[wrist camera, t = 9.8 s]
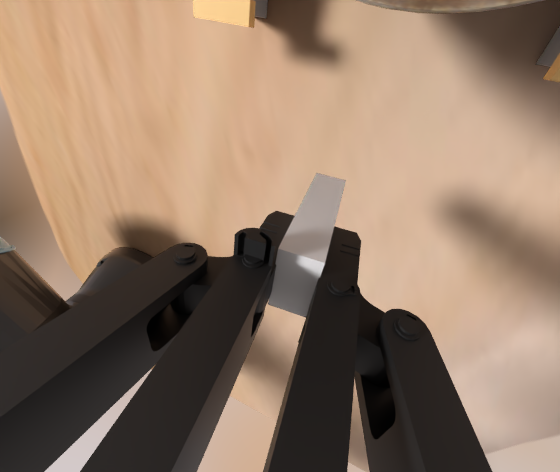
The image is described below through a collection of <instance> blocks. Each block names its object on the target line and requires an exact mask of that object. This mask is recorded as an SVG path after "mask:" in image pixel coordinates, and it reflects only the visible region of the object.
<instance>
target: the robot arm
mask: <svg viewBox="0 0 560 472" xmlns="http://www.w3.org/2000/svg"><path fill="white" fill-rule="evenodd" d="M345 182H346V180H342V179H338V178H335V177H331V176H327V175H323V174H319V173H316V175H315V177H314V179H313V181H312V183H311V185H310V187H309V189H308V191H307V193H306V195H305V197H304V199H303V201H302V203H301V205H300V207H299V209H298V210H297V212H296V214H295V216H293V215H289V214H286V213H282V212H279V211H275V212H273V213H271V214H269V215H268V216H267V218H266V219H265V221H264V223H263V224H262V225H261V226H260V229H258V228H246V229H243V230H240V231H239V232H237V233H236V234H235V242H234V255H233V256H231V257H211V256H208V255H207V252H206V250H205V249H204V248H203V247H202V246H200V245H197V244H195V243H182V244H177V245H175V246H173V247H170V248H169V249H167V250H166V251H164V252H162V253H161V254H159V255H157V256H156V257H154V258H152V257H150V256H148V255H147V254H145V253H143V252H140V251H138V250H135V249H131V248H125V247H120V248H116V249H114V250H112V251H111V252H109V253H108V254H107V255H105V256H104V257H103V258H102V259H101V260H100V261H99V262H98V264H97V267H96V268H95V269H94V270H93V271H92V273H91V274H90V275H89V277H88V278H87V279H86V281H85V282H84V284H83V285H82V287H81V288H80V290H79V291H78V292H77V293H76V294H74V295H73V296H72V297H70V298H69V299H68V300H67V301H64V300H63V299H62V298H61V296H59V294H58V293H56V292H55V290H54V289H53V288H52V287H51V286H50V285H49V284H48V283H47V282H46V281H45V280H43V278H42V277H41V276H40V275H39V274H38V273H37V272H36V271H35V270H34V269H33V268H32V267H31V266H30V265H29V264H28V263H27V262H26V261H25V260H24V259H23V258H22V257H21V256H20V255H19V254H18V253H17V252H16V251H15V250H16V248H15V247H14V246H12V245H9V244H8V243H7V242H6V241H5V240H4V239H3V238H2V237H0V472H44V471H45V470H46V469H47V468H48V467H49V466H50V465H52V464H53V463H54V462H55V461H56V460H57V459H58V458H59V457H60V456H61V455H62V454H63V453H64V452H65V451H66V450H67V449H68V448H69V447H70V446H71V445H72V444H73V443H74V442H75V441H76V440H78V439H79V438H80V436H82V435H83V434H84V433H85V432H86V431H87V430H88V429H89V428H90V427H91V426H92V425H93V424H94V423H95V422H96V421H97V420H98V419H99V418H100V417H101V416H102V415H103V414H104V413H106V411H108V410H109V409H110V407H112V406H113V405H114V404H115V403H116V402H117V401H118V400H119V399H120V398H121V397H122V396H123V395H124V394H125V393H126V392H127V391H128V390H129V389H131V388H132V387H133V386H134V385H135V384H136V383H137V382H138V381H139V380H140V379H141V378H142V377H143V376H144V375H145V374H146V373H147V372H148V371H149V370H150V369H151V368H152V367H153V366H154V365H155V364H156V363H157V364H156V365H155V366H154V368H153V369H152V371H151V372H150V374H149V375H148V376H147V378H146V379H145V381H144V382H143V384H142V385H141V386H140V388H139V389H138V391H137V392H136V393H135V395H134V396H133V398H132V399H131V400H130V402H129V403H128V405H127V406H126V408H125V409H124V410H123V412H122V413H121V414H120V416H119V417H118V419H117V420H116V422H115V423H114V424H113V426H112V427H111V429H110V430H109V432H108V433H107V434H106V436H105V437H104V439H103V440H102V441H101V443H100V444H99V446H98V447H97V449H96V450H95V451H94V453H93V454H92V455H91V457H90V458H89V460H88V461H87V463H86V464H85V465H84V467H83V468H82V470H81V471H80V472H197V470H198V467H199V465H200V463H201V460H202V458H203V456H204V453H205V451H206V449H207V446H208V444H209V442H210V439H211V437H212V435H213V432H214V430H215V428H216V425H217V423H218V421H219V418H220V416H221V414H222V412H223V409H224V407H225V405H226V402H227V400H228V398H229V395H230V393H231V391H232V388H233V386H234V384H235V381H236V379H237V377H238V374H239V372H240V370H241V367H242V365H243V363H244V360H245V358H246V356H247V353H248V351H249V349H250V346H251V344H252V342H253V340H254V337H255V335H256V333H257V330H258V328H259V326H260V323H261V321H262V319H263V316H264V310H265V306H266V304H267V302H268V300H269V302H268V304H269V305H271V306H274V307H277V308H280V309H283V310H286V311H289V312H292V313H295V314H297V315H300V316H303V317H306V320H305V323H304V326H303V329H302V332H301V335H300V338H299V341H298V343H299V344H298V347H297V351H296V355H295V358H294V362H293V365H292V369H291V373H290V376H289V380H288V383H287V387H286V391H285V394H284V398H283V401H282V405H281V409H280V412H279V416H278V420H277V423H276V427H275V430H274V434H273V438H272V442H271V445H270V449H269V452H268V456H267V459H266V463H265V467H264V470H263V472H347V466H348V453H349V440H350V427H351V414H352V401H353V388H354V377H355V383H356V389H357V395H358V401H359V408H360V414H361V420H362V426H363V433H364V439H365V445H366V451H367V457H368V464H369V470H370V472H492V470H491V468H490V466H489V464H488V461H487V459H486V457H485V454H484V452H483V450H482V448H481V445H480V443H479V441H478V439H477V436H476V434H475V432H474V429H473V427H472V425H471V423H470V420H469V418H468V416H467V414H466V411H465V409H464V407H463V405H462V402H461V400H460V398H459V396H458V393H457V391H456V389H455V387H454V384H453V382H452V380H451V378H450V375H449V373H448V371H447V369H446V366H445V364H444V362H443V360H442V357H441V355H440V353H439V350H438V348H437V346H436V344H435V341H434V339H433V337H432V335H431V332H430V331H429V329H428V328H427V326H426V324H425V323H424V322H423V321H422V320H421V319H420V318H418V317H417V316H416V315H414V314H412V313H410V312H409V311H405V310H402V309H391V310H389V311H387V312H386V313H385V312H383V311H381V310H380V309H378V308H376V307H375V306H373V305H372V304H370V303H369V302H368V301H367V300H366V299H365V298H364V297H363V296H362V295H361V293H360V289H359V287H358V285H357V280H358V269H359V257H360V247H361V240H360V238H359V236H358V234H357V233H355V232H352V231H348V230H345V229H341V228H338V227H334V225H335V221H336V217H337V213H338V209H339V206H340V202H341V198H342V194H343V190H344V186H345Z"/></svg>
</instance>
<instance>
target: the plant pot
mask: <svg viewBox="0 0 560 472" xmlns="http://www.w3.org/2000/svg"><path fill="white" fill-rule="evenodd" d="M357 1H360V2H363V3H366V4H369V5H373V6H377V7H381V8H385V9H393V10H400V11H408V12H415V13H437V14H449V13H467V12H482V11H489V10H496V9H503V8H509V7H515V6H520V5H524V4H529V3H534V2H539V1H544V0H357Z"/></svg>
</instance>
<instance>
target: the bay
mask: <svg viewBox="0 0 560 472" xmlns="http://www.w3.org/2000/svg"><path fill="white" fill-rule="evenodd" d="M267 6H268V0H193V15H194V17H196V18H201V19H207V20H213V21H218V22H224V23H229V24H235V25H241V26H246V27H253V28H254V21H255V17H260V18H267ZM536 65H542V66H548V67H550V69H549V70H548V72H547V73H546V75H545V76H544V78H543V79H545V80H550V81H555V82H560V26H559V27H558V29H557V30H556V32H555V34H554V35H553V37H552V39H551V40H550V42H549V43H548V45H547V47H546V48H545V50H544V52H543V53H542V55H541V56H540V58H539V60H538V61H537V63H536Z"/></svg>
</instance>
